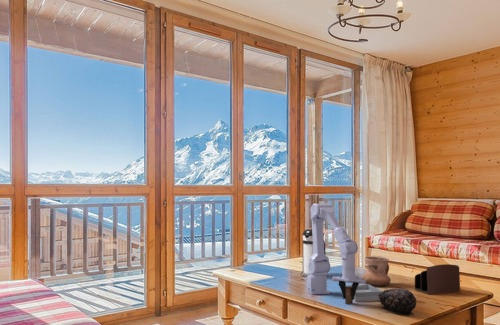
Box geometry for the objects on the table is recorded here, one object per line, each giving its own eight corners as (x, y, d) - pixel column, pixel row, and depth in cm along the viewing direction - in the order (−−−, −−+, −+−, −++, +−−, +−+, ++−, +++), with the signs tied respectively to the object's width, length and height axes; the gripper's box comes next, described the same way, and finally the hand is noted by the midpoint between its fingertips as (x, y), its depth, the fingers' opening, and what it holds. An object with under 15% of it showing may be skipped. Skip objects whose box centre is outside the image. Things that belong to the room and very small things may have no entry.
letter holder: (460, 292, 210) (459, 263, 211) (428, 295, 204) (427, 265, 205) (445, 287, 220) (445, 260, 221) (414, 290, 214) (413, 262, 215)
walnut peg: (347, 304, 187) (346, 288, 187) (344, 302, 190) (344, 286, 190) (353, 304, 187) (353, 288, 188) (350, 302, 190) (350, 286, 191)
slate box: (355, 301, 191) (355, 292, 192) (342, 294, 205) (342, 285, 205) (383, 300, 194) (383, 291, 194) (369, 292, 208) (369, 284, 208)
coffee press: (330, 279, 238) (329, 225, 240) (301, 278, 239) (301, 225, 241) (325, 273, 256) (325, 223, 258) (299, 272, 256) (298, 223, 258)
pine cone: (384, 304, 188) (384, 281, 188) (421, 314, 173) (420, 289, 174) (369, 308, 182) (369, 284, 182) (406, 318, 167) (405, 292, 168)
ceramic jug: (375, 289, 215) (375, 261, 216) (355, 283, 228) (355, 256, 229) (399, 286, 224) (399, 259, 225) (378, 280, 237) (378, 254, 238)
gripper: (330, 268, 189) (330, 299, 188) (363, 271, 183) (364, 302, 182) (333, 265, 195) (334, 295, 194) (366, 268, 190) (366, 299, 189)
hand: (348, 298), depth 189 cm, fingers closed on walnut peg, 3 cm apart
